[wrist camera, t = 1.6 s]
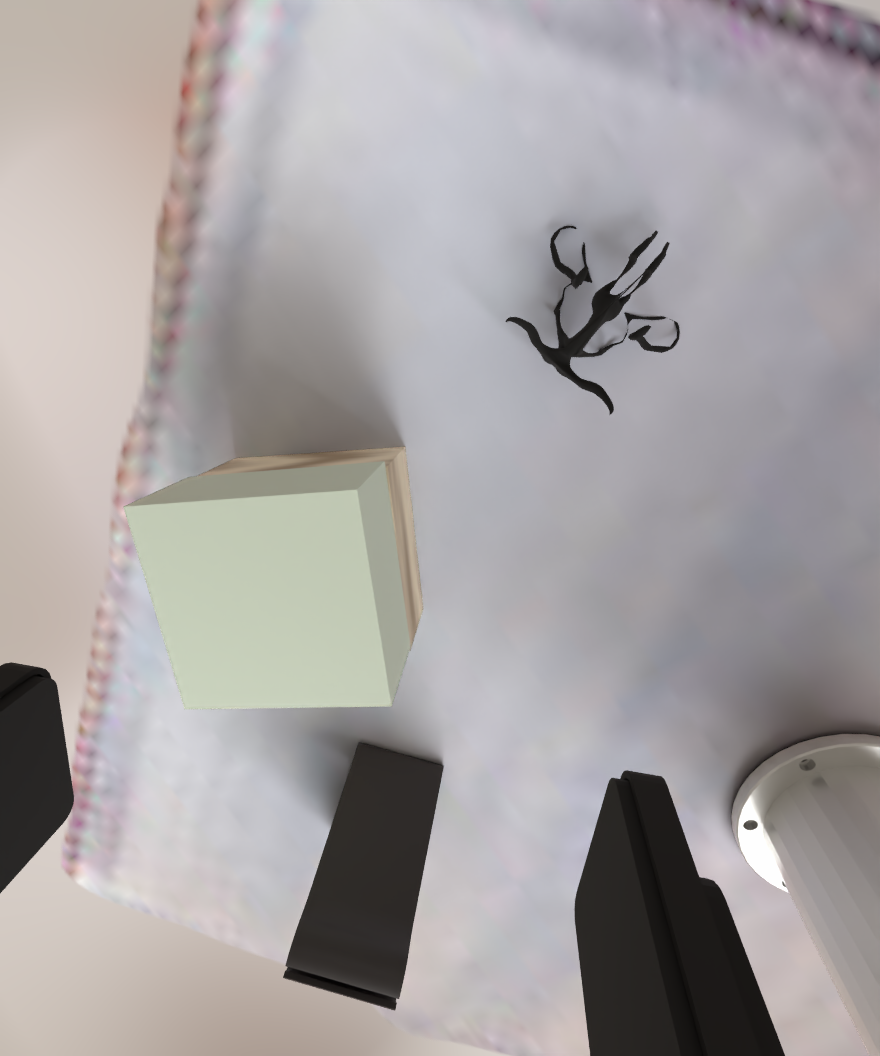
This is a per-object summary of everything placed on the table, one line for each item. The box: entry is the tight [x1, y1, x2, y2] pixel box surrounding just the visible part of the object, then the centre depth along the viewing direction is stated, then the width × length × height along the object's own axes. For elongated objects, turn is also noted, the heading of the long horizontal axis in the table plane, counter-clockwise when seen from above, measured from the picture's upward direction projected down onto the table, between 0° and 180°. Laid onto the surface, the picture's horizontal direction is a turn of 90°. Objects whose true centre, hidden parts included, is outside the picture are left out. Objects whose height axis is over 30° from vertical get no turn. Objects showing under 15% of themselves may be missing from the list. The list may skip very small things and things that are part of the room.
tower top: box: [124, 461, 411, 709], centre depth 26 cm, size 10×10×5 cm
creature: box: [506, 226, 680, 414], centre depth 25 cm, size 8×5×8 cm
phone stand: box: [283, 743, 444, 1010], centre depth 34 cm, size 9×6×12 cm, turn 166°
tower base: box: [198, 447, 423, 651], centre depth 31 cm, size 10×10×5 cm
